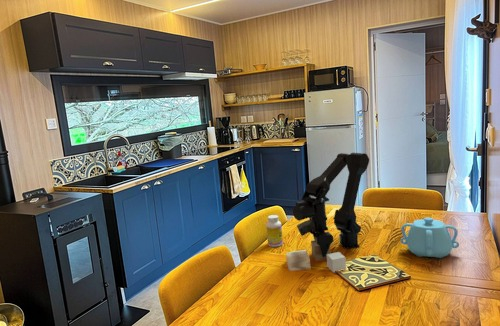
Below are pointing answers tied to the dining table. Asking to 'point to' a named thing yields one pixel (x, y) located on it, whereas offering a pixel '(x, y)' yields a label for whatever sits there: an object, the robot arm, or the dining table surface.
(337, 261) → the grey cube
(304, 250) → the walnut card
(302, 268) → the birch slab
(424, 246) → the decorative pot
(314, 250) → the walnut cube
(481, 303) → the dining table surface
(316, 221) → the robot arm
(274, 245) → the supplement bottle
